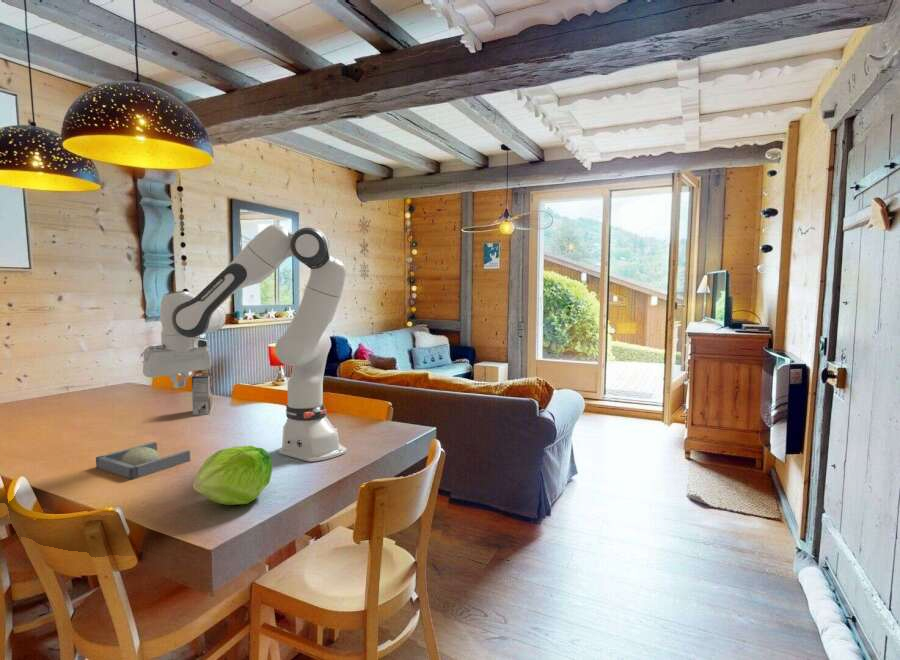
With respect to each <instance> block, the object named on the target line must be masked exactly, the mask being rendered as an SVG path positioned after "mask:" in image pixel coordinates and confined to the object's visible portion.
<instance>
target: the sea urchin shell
mask: <svg viewBox="0 0 900 660" xmlns="http://www.w3.org/2000/svg"><path fill="white" fill-rule="evenodd" d="M160 456H161V455H160V453H159V452H158V450H157V451H156V450H155V449H152V448H148V447H138V448H133V449H131V450H129V451H128V452H127V453H126V454H124V456H123V457H122V459H121V462H124V463H127V464H130V465H134V466H136V465H139V464H143V463H146V462H149V461H153V460H156V459H159V458H161V457H160Z"/></svg>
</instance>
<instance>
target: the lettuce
mask: <svg viewBox="0 0 900 660" xmlns="http://www.w3.org/2000/svg"><path fill="white" fill-rule="evenodd" d="M272 461H273V460H272V457H271V455H270V454H269V452H268V451H267V450H266V449H264V448H263V447H257V446H253V445H240V446H232V447H228V448H224V449H221V450H217V451H216V452H214V453H213V454H212V455H210V456H209V457H208V458H207V459H205V460H204V462H203V464H202V466H201V467H200V468H199V470H198V474H197V476H196V477H195V478H194V481H193V484H192V485H193V489H194V490H195V491H196V492H197V493H198V494H200V495H202V496H204V497H206V498H207V499H208V500H210V501H212V502H213V503H214V504H219V505H226V506H236V505H237V506H238V505H239V506H240V505H248V504H249V503H251V502H252V501H254V500H255V499H257V498H258V497H259V496H260V494H261V493H262V492H263V490H264V489H265V488H266V487H267V486H268V484H270V481H271V477H272V472H273V463H272Z"/></svg>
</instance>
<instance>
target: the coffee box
mask: <svg viewBox="0 0 900 660" xmlns="http://www.w3.org/2000/svg"><path fill="white" fill-rule="evenodd" d="M191 391H192V392H191V394H192V395H191V396H192V398H191V399H192V401H191V402H192V416H200V415H210V414H211V412H212V411H213V410H214V404H213V374H212V372H196V373H195V374H193V375H192V376H191Z"/></svg>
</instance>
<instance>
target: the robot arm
mask: <svg viewBox="0 0 900 660" xmlns="http://www.w3.org/2000/svg"><path fill="white" fill-rule="evenodd" d="M291 257H295V259H297V260H298V261H299V262H301V263H302V264H304V265H305V266H306V267H308V268H309V269H310V273H309V274H310V275H309V278H308V281H307V284H306V287H305V289H304V293H303V295H302V298H301V301H300V304H299V307H298V309H297V311H296V313H295V315H294V316H293V318H292V320H291V321H290V323H289V325H288V327H287V328H286V330H285V331H284V333H283V334H282V336H281V337H280V338H279V339H278V340H277V341H276V344H275V346H274V353H275V356H276V358H277V360H278V361H279V362H280V363H282V364H283V365H286V366H291V367H292V370H291V374H290V376H289V378H288V381H287V405H286V407H285V415H286V418H287V419H286V422H285V423H284V425H283V429H282V441H281V442H282V443H281V447H280V448H278V454H280V455H284V456H287V457H291V458H295V459H297V460H301V461H305V462H308V463H309V462H310V463H311V462H320V461H325V460H329V459H332V458H335V457H339V456H341V455H343V454H346V452H348V451H347V447H345V446H343V445H342V444H341V443H340V439H339V430H338V428H337V427H336V428H335V427H334V425H332V423H331V422H330V421H329V419H328V418H327V413H328V412H327V411H328V409H327V408H326V407H325V404H324V402H323V398H324V396H323V394H324V393H323V391H324V390H323V387H324V386H323V385H324V375H325V369H326V364H327V360H328V355H329V352H330V349H331V348H332V341H331V337H330V335H329V334H328V333H327V332H326V329H327V328H328V326H329V325H330V323H331V322H332V321H333V319H334V317H335V314H336V310H337V308H338V306H339V302H340V299H341V297H342V293H343V290H344V286H345V282H346V275H347V267H346V265H345V264H344V263H343V262H342V261H341V260H340V259H337V258H336V257H333V256H332V255H331V254H330V242H329V238H328V237H327V235H326V234H325V233H324V232H323V231H322V230H320V229H318V228H316V227H311V226H309V227H307V226H306V227H302V228H300V229H298V230H296V231H295V232H290V231H289V230H288V229H287V228H285V227H283V226H281V225H279V224H270V225H269V226H266V227H265V228H264V229H263V230H260V232H259V233H257V234H256V235H255V236H253V238H252V239H251V240H250V241H249V242H248V243H247V244H246V245H245V247H243V249H242V250H241V251H240V252H239V253H238V254H237V255H236V256H235V257H234V259H233V260H232V261H231V262H230V263H229V264H228V265H227V266H226V267H225V268H224V270H222V271H221V272H220V273H219V274H218V275H217V276H215V277H214V279H213V280H211V282H209V283H208V284H207V285H206V286H205V287H204V288H203V289H202V290H201V291H200V292H199V293H198V294H197V295H196V296H195V295H194V294H193V293H191V292H190V291H186V290H180V291H171V292H168V293H165V294H163V296H162V297H161V301H160V311H159V312H160V313H159V314H160V323H161V325H162V326H161V333H160V335H161V336H160V338H161V341H160V342H161V344H159V345H150V346H148V347H146V348H145V349H144V350H143V364H142V375H144V377H146V378H159V377H164V376H168V377H169V379H170V380H171V382H172V387H173V389H180V388H186V384H187V383H186V382H187V379H188V378H189V376H190V372H191V373H192V372H196V371H197V372H198V371H203V370H209V369H210V368H211V367H212V353H211V350H210V348H209V347H210V341H209V340H207V339H202V338H198V336H201V335H206V334H210V333H215V332H216V331H218V330H220V329H222V328H223V327H224V326H225V323H226V320H227V315H226V314H227V313H226V312H225V310H224V308H223V307H222V305H223V304H224V303H225V301H226V300H228V299H229V298H230V296H232V295H234V293H236V292H238V291H239V290H241V289H244V288H247V287H249V286H253V285H258V284H260V283H262V282H263V281H266V279H268V278H269V277H270V276H271V275H272V274H274V273H275V272H276V270H277V269H278V268H279V267H280V266H281V265H282V264H283V263H284V262H285V260H287V259H289V258H291ZM179 374H180V376H181V377H180V380H178V379H177V378H178V377H179V376H178V375H179Z"/></svg>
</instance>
